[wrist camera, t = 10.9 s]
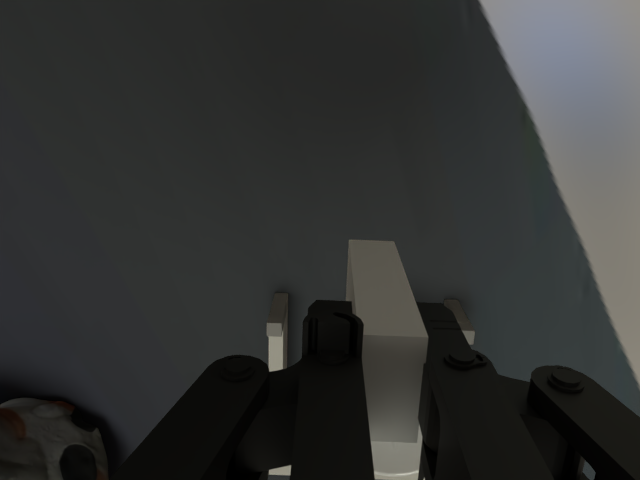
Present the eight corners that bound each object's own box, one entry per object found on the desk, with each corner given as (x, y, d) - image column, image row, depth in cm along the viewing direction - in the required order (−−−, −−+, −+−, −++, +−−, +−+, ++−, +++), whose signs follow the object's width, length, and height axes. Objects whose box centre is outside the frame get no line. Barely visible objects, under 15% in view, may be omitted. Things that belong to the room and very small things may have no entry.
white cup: (448, 315, 41) (482, 392, 31) (410, 397, 43) (430, 491, 33) (352, 284, 40) (356, 352, 30) (319, 369, 42) (313, 456, 33)
